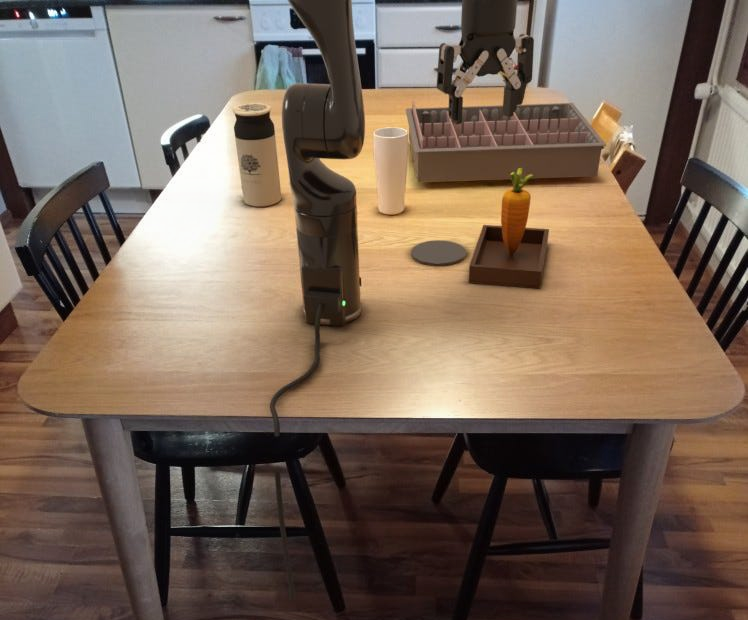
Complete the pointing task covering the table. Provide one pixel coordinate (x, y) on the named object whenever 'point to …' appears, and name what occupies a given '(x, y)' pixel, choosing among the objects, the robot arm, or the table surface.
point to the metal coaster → (438, 253)
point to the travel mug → (257, 154)
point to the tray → (509, 258)
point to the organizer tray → (503, 143)
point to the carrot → (515, 212)
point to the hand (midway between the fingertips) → (482, 119)
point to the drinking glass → (390, 168)
